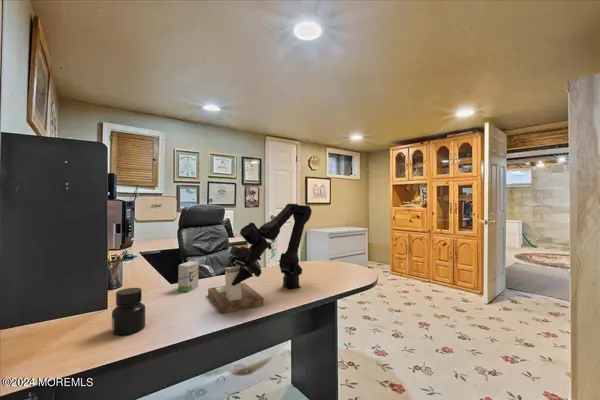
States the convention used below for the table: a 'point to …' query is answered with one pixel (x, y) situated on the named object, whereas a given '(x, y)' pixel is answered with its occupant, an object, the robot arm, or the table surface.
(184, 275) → the ink box
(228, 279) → the plug
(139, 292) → the ink bottle
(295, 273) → the robot arm
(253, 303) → the board
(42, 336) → the table surface
